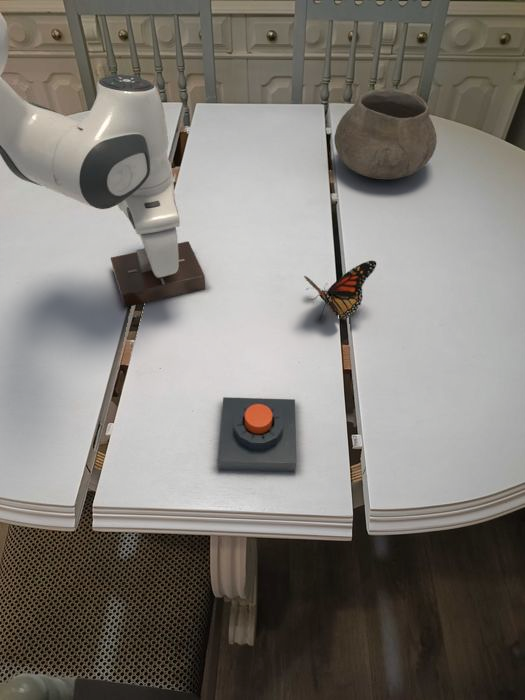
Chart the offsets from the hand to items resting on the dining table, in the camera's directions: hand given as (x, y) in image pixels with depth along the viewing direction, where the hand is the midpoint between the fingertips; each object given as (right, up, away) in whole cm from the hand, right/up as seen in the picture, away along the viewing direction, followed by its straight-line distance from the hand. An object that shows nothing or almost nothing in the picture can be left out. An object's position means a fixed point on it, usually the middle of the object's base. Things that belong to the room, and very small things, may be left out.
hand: (156, 262), depth 90 cm
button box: (+17, -27, -18) cm, 37 cm away
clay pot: (+44, +25, +29) cm, 59 cm away
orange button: (+17, -24, -20) cm, 36 cm away
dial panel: (0, -3, +3) cm, 4 cm away
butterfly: (+29, -8, -1) cm, 31 cm away
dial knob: (0, -1, +1) cm, 1 cm away
